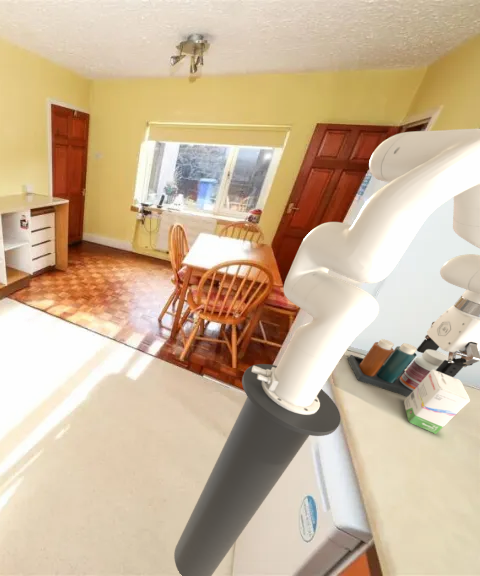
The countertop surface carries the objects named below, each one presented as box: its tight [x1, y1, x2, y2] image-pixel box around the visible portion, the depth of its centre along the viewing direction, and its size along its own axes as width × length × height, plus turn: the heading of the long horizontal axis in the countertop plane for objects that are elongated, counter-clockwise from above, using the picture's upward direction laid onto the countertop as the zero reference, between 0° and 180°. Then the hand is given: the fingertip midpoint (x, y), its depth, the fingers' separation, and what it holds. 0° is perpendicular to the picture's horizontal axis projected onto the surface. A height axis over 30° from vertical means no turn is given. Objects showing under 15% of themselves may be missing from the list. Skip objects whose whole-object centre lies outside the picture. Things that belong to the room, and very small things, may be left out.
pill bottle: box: [400, 349, 449, 391], centre depth 73 cm, size 6×6×11 cm
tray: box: [347, 354, 413, 397], centre depth 77 cm, size 19×11×2 cm, turn 62°
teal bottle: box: [377, 342, 418, 383], centre depth 76 cm, size 4×4×12 cm
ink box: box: [403, 370, 471, 435], centre depth 64 cm, size 8×5×12 cm, turn 139°
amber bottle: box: [359, 338, 395, 376], centre depth 77 cm, size 4×4×11 cm
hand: (433, 363), depth 72 cm, fingers open, 9 cm apart
